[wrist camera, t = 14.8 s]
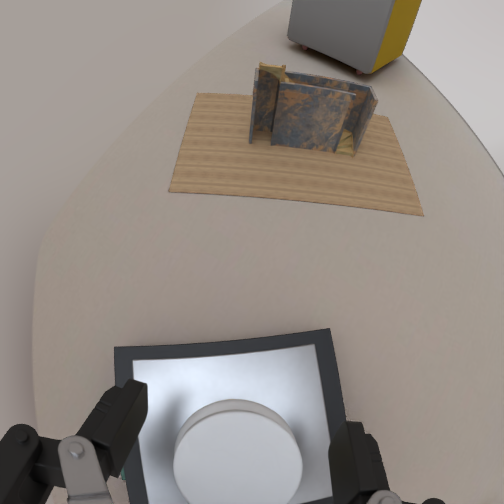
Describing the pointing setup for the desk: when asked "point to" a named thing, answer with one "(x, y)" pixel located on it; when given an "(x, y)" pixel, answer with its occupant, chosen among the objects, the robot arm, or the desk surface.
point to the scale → (318, 337)
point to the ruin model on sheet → (296, 145)
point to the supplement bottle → (236, 455)
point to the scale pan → (234, 387)
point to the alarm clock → (354, 29)
